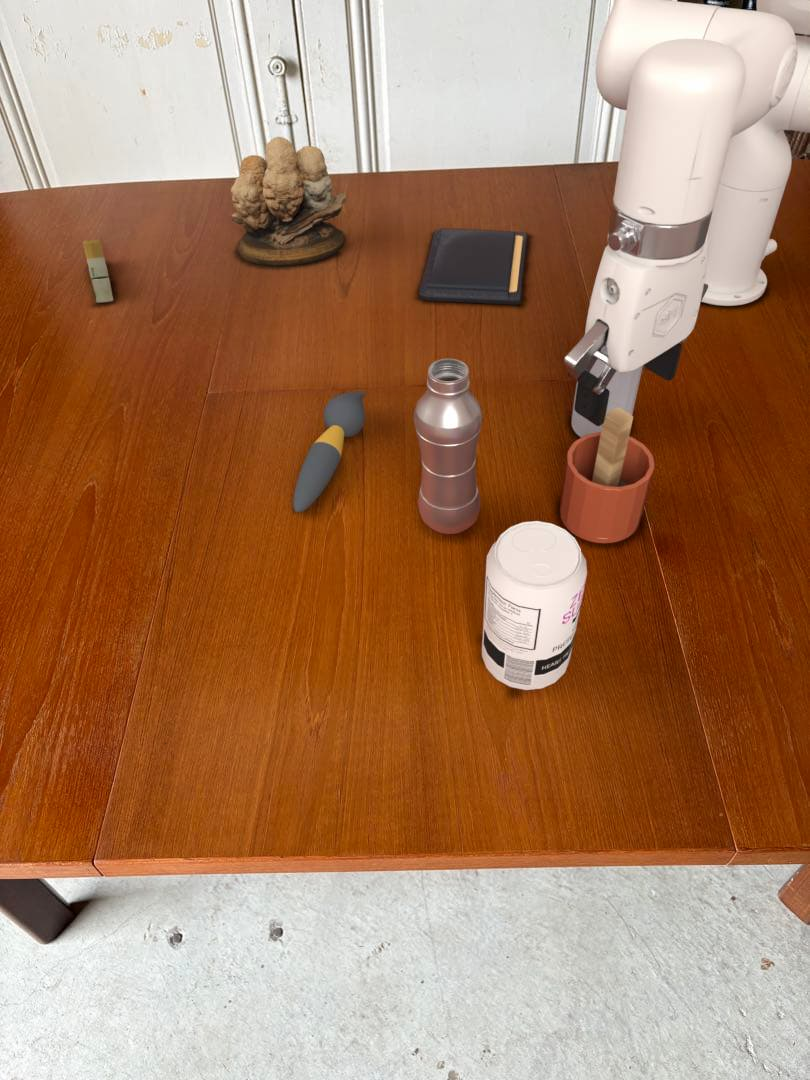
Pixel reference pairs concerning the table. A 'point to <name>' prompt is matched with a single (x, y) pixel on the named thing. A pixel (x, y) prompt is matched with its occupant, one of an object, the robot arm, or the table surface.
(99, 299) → the medication box
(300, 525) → the table surface
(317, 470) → the paintbrush
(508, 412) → the table surface
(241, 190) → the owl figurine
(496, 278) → the wallet
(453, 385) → the silver aluminum bottle
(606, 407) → the robot arm
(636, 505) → the holder
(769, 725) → the table surface
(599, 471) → the brush
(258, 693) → the table surface
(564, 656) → the supplement can
